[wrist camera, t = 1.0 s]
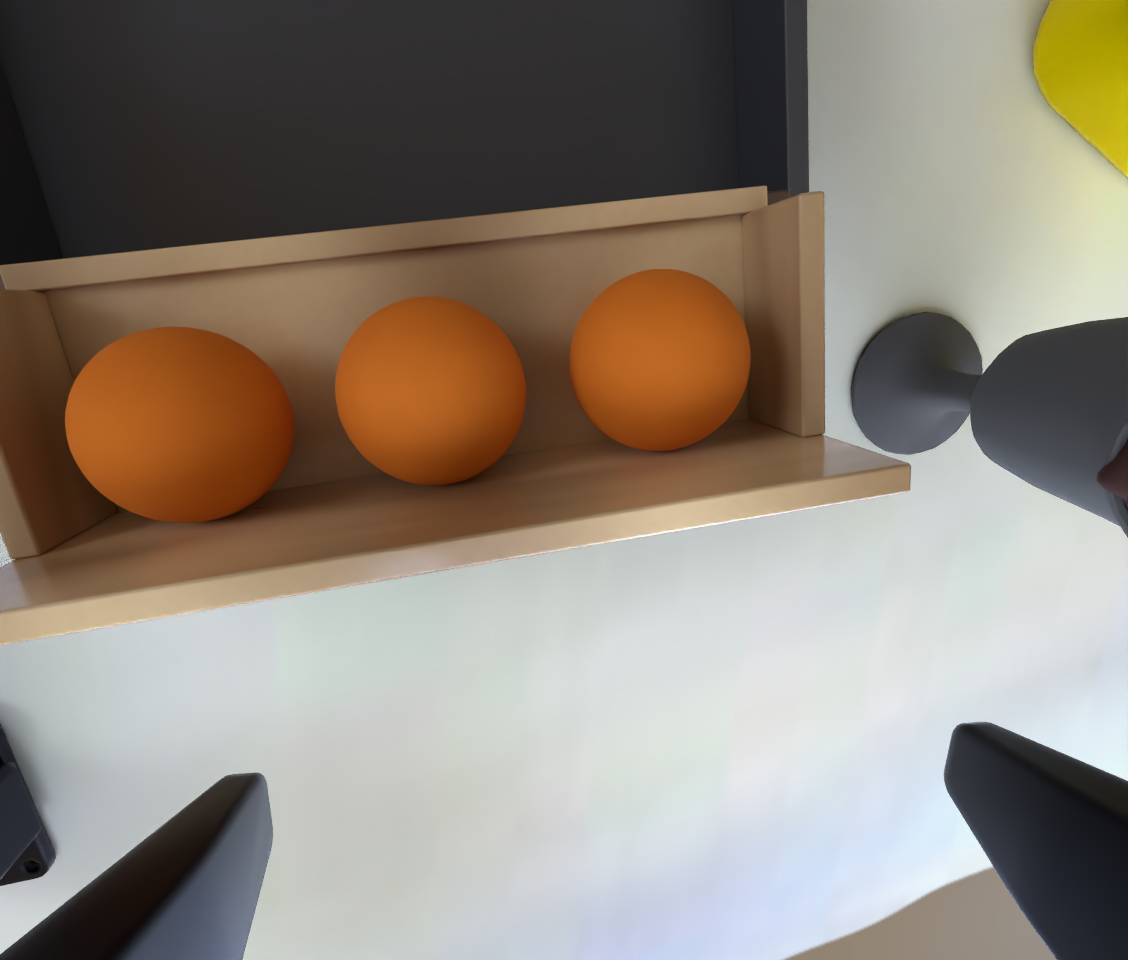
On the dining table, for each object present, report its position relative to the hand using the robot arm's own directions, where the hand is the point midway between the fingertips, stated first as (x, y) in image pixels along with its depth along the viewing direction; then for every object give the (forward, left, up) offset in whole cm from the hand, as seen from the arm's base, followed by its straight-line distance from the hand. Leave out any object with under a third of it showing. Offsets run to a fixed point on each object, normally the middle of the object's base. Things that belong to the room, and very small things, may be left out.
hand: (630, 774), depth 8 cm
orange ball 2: (-2, +5, -5) cm, 7 cm away
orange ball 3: (+2, +5, -5) cm, 8 cm away
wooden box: (-2, +5, -8) cm, 9 cm away
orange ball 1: (-6, +5, -5) cm, 10 cm away
